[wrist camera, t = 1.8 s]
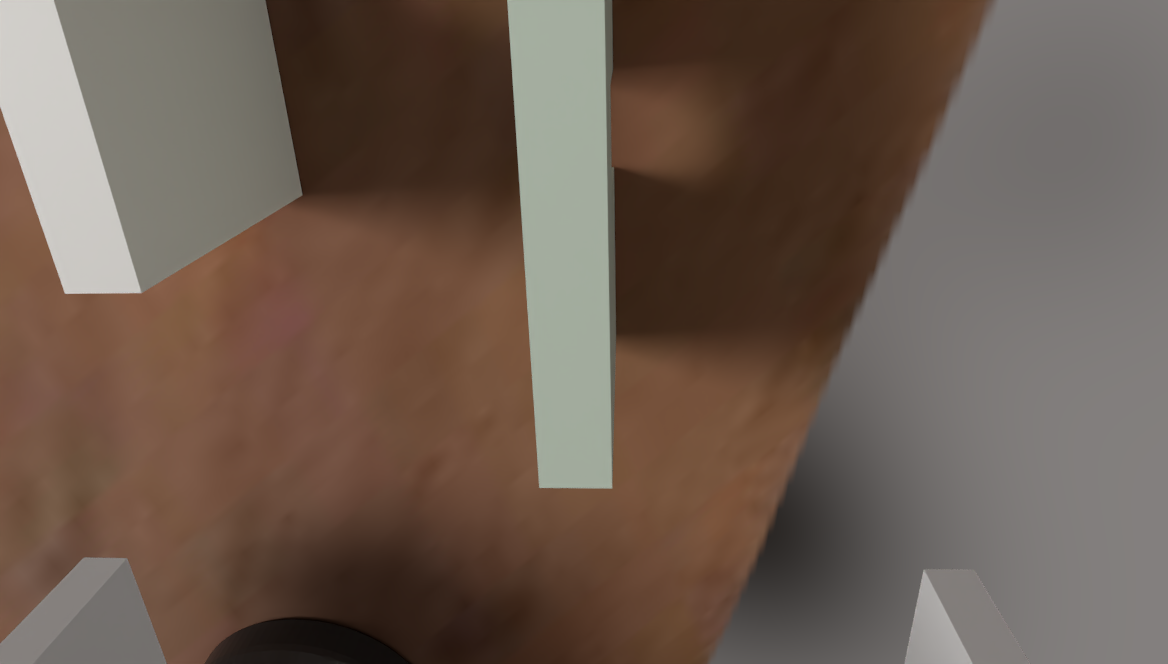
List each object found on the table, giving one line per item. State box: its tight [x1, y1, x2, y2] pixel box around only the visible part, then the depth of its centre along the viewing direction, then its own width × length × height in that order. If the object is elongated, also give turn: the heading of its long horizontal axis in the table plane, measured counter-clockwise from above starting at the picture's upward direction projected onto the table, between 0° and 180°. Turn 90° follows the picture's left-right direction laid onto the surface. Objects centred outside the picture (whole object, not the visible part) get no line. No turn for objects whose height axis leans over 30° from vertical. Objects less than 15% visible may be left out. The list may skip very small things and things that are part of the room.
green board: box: [507, 0, 616, 488], centre depth 25 cm, size 20×2×12 cm, turn 2°
